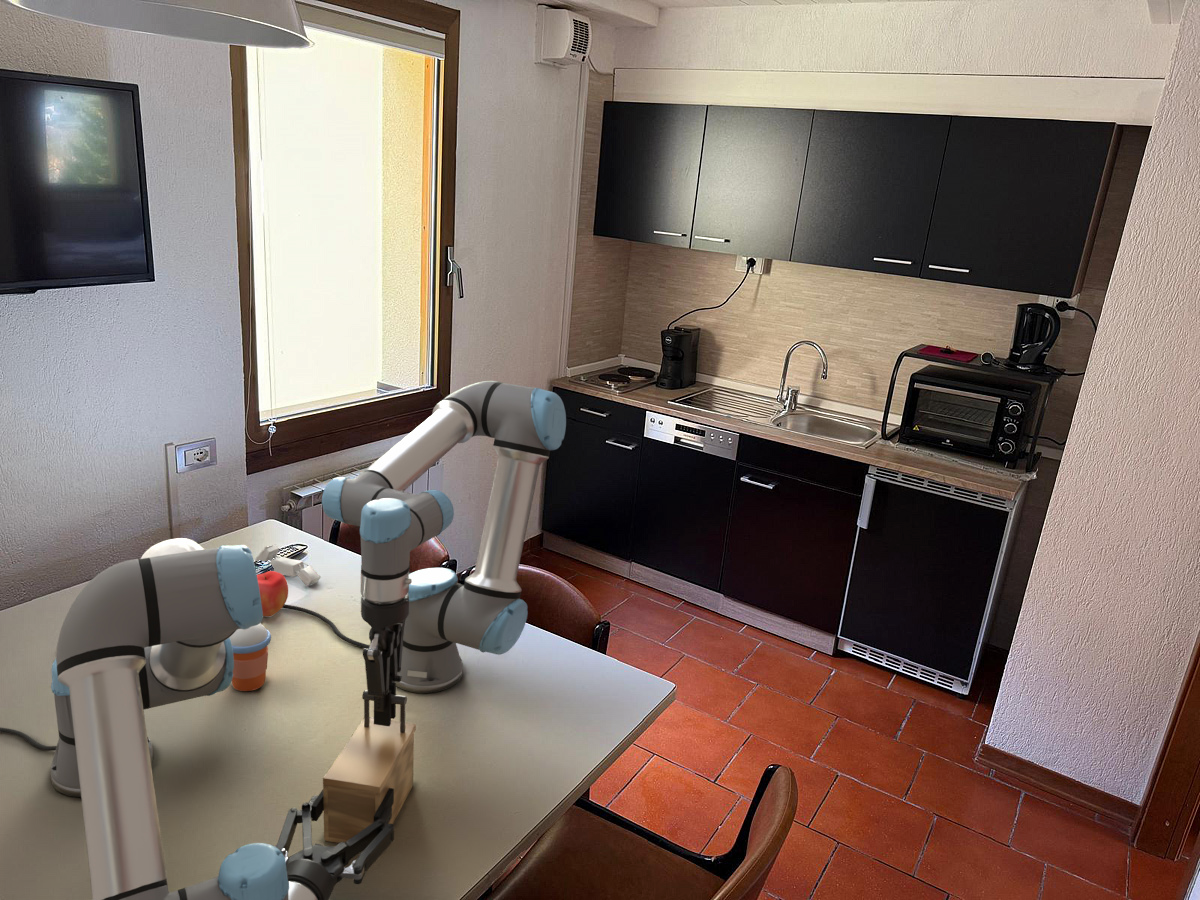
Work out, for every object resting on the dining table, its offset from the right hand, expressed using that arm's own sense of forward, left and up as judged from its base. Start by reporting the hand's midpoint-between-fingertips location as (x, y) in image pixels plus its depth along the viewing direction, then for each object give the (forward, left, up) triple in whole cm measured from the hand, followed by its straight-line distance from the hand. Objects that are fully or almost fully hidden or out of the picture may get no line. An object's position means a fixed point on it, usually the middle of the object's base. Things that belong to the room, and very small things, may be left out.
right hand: (384, 720), depth 144 cm
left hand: (+3, -9, -6) cm, 12 cm away
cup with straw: (-43, +9, -14) cm, 46 cm away
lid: (+2, -5, -3) cm, 6 cm away
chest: (+2, -6, -14) cm, 15 cm away
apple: (-62, +31, -14) cm, 71 cm away
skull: (-81, +24, -14) cm, 86 cm away
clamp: (-74, +48, -14) cm, 89 cm away
